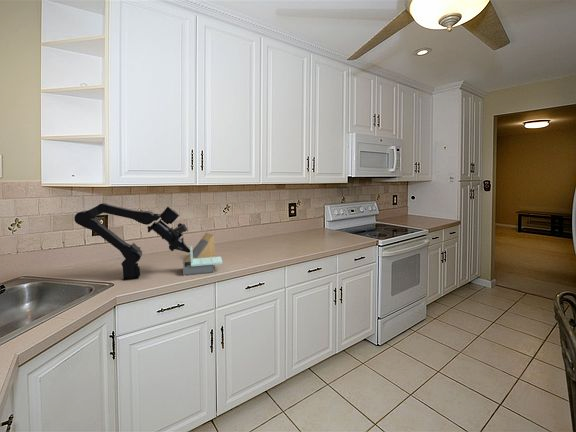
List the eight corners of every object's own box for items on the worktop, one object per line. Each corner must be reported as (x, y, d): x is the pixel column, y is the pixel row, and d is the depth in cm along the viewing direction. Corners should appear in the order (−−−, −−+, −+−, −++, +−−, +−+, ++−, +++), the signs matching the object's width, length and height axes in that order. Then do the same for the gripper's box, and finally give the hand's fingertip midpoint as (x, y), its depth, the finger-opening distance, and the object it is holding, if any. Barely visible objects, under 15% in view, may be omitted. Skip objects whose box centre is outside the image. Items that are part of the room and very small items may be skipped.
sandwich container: (182, 263, 162) (180, 236, 160) (206, 257, 173) (205, 232, 171) (190, 266, 156) (188, 238, 154) (214, 260, 167) (214, 234, 165)
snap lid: (190, 266, 140) (190, 250, 139) (191, 260, 151) (190, 245, 150) (222, 263, 145) (222, 248, 144) (220, 257, 155) (220, 243, 154)
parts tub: (183, 275, 140) (182, 267, 140) (183, 269, 150) (183, 261, 149) (213, 272, 144) (213, 264, 144) (212, 266, 154) (211, 259, 153)
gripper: (175, 221, 132) (201, 243, 137) (177, 216, 150) (200, 236, 154) (157, 240, 131) (184, 261, 135) (161, 232, 148) (185, 252, 153)
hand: (189, 251), depth 145 cm, fingers closed, pressing on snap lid
